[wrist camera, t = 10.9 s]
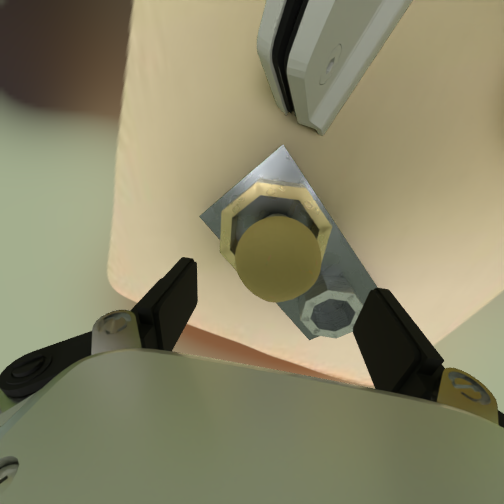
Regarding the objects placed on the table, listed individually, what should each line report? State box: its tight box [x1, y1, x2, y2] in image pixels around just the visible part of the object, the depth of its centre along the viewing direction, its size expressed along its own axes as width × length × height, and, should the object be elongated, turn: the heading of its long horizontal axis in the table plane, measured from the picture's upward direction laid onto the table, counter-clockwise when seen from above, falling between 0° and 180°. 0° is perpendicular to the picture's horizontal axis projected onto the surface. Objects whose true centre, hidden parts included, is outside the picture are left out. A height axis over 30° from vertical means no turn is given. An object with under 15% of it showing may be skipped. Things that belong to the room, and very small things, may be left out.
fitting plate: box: [199, 145, 377, 340], centre depth 23 cm, size 11×22×4 cm, turn 39°
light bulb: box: [235, 213, 322, 302], centre depth 17 cm, size 6×6×10 cm
